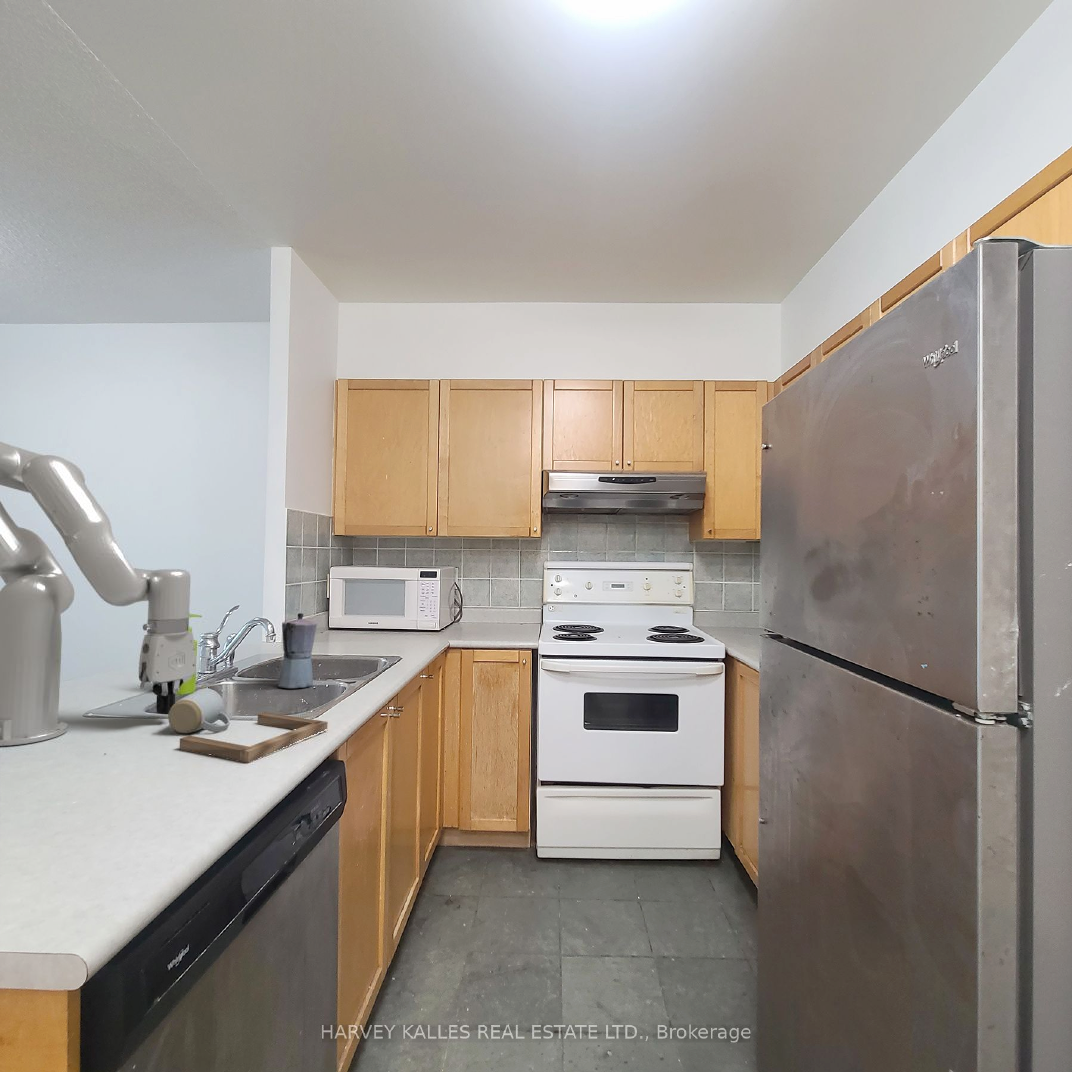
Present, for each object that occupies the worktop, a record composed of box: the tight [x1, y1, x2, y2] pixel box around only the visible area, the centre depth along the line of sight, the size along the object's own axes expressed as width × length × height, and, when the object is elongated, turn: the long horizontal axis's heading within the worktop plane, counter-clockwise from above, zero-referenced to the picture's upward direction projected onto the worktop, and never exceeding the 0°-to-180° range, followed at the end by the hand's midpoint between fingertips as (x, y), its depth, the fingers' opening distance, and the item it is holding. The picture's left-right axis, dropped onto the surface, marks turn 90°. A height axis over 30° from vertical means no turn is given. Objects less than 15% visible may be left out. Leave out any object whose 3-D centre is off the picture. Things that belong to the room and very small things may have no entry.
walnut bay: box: [179, 711, 328, 763], centre depth 114 cm, size 20×17×2 cm
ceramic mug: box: [167, 687, 231, 734], centre depth 120 cm, size 11×8×8 cm
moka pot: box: [277, 612, 318, 689], centre depth 159 cm, size 10×15×20 cm, turn 2°
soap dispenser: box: [175, 613, 203, 696], centre depth 151 cm, size 6×7×20 cm
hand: (165, 712), depth 124 cm, fingers closed
